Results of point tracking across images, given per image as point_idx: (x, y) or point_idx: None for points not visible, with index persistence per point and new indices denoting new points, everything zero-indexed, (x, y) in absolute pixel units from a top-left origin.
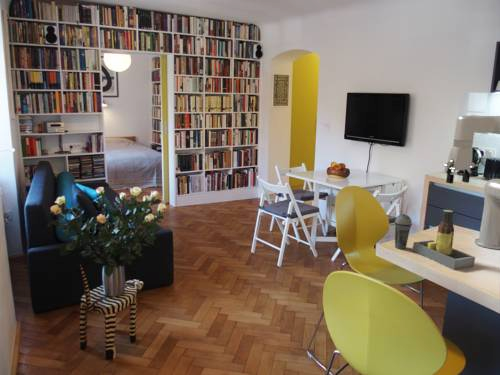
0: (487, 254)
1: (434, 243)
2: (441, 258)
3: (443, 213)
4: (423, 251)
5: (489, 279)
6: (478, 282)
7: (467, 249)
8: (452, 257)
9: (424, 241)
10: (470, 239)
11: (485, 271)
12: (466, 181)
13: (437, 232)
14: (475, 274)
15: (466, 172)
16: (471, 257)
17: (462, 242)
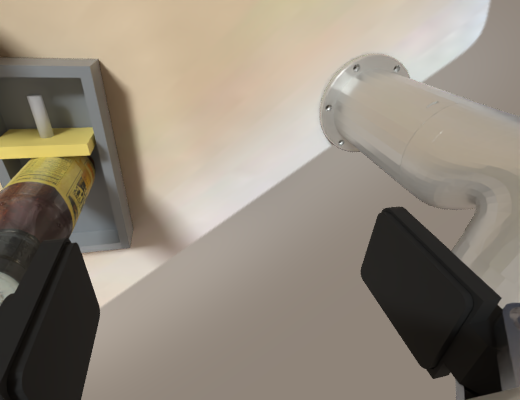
0: (265, 169)
1: (21, 157)
2: None
3: None
4: None
5: (108, 289)
6: None
7: (244, 116)
8: (100, 181)
9: (26, 72)
10: (366, 28)
11: (140, 256)
12: (367, 270)
13: (2, 189)
14: (93, 266)
15: (467, 365)
16: (114, 248)
17: (299, 46)
